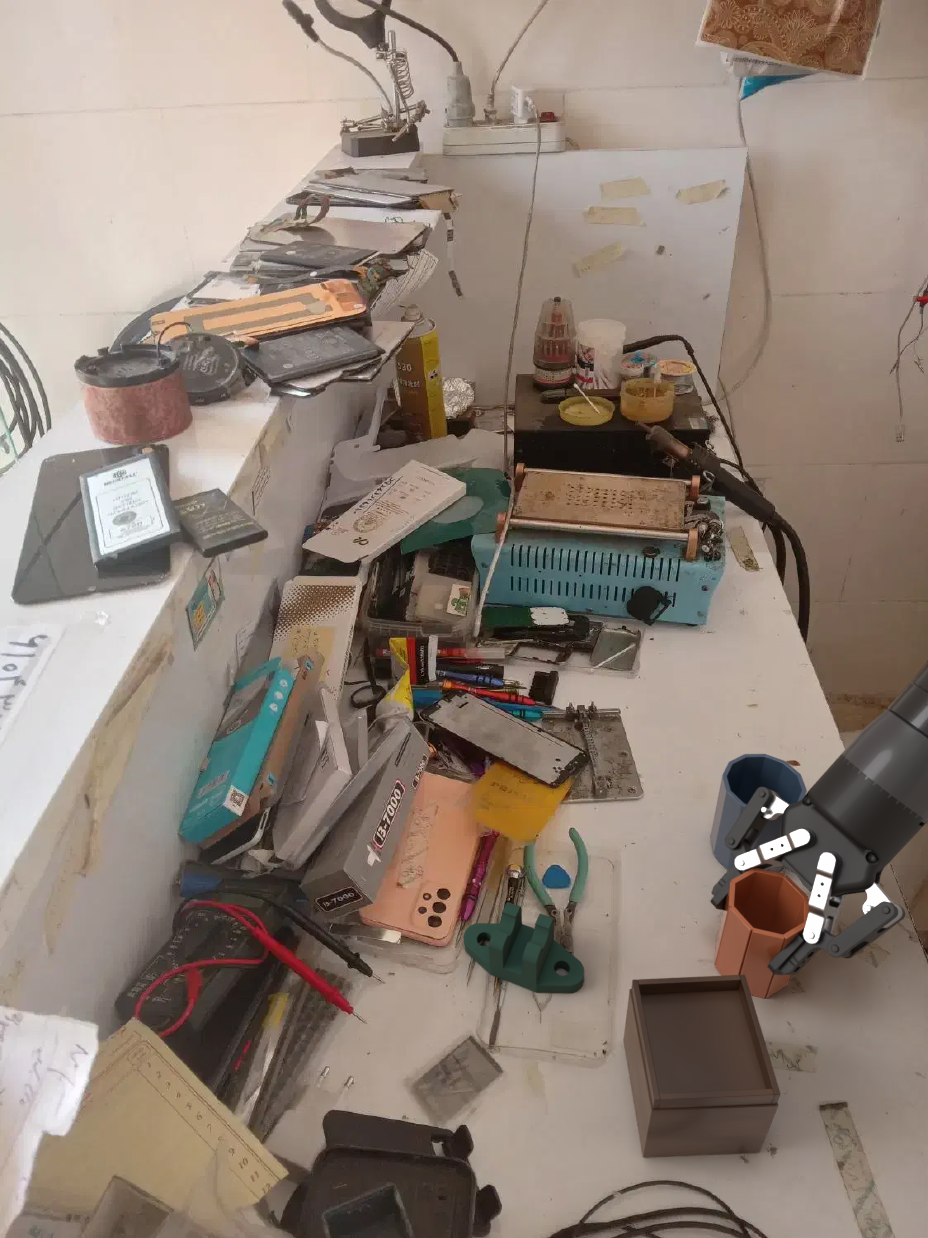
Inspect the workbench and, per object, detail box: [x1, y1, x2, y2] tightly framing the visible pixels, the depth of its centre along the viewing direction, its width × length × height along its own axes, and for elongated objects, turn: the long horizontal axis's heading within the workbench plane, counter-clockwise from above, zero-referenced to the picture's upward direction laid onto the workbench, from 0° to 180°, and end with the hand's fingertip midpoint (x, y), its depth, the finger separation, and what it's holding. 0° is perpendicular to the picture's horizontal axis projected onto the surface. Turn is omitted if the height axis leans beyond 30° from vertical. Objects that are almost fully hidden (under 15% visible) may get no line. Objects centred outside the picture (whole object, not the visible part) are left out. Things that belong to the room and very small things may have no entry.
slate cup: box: [709, 753, 808, 873], centre depth 77 cm, size 7×7×10 cm
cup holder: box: [623, 975, 781, 1158], centre depth 60 cm, size 8×8×10 cm
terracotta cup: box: [714, 868, 810, 999], centre depth 68 cm, size 6×6×9 cm
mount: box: [463, 901, 585, 994], centre depth 70 cm, size 11×4×5 cm, turn 66°
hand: (745, 937), depth 67 cm, fingers closed on terracotta cup, 6 cm apart
